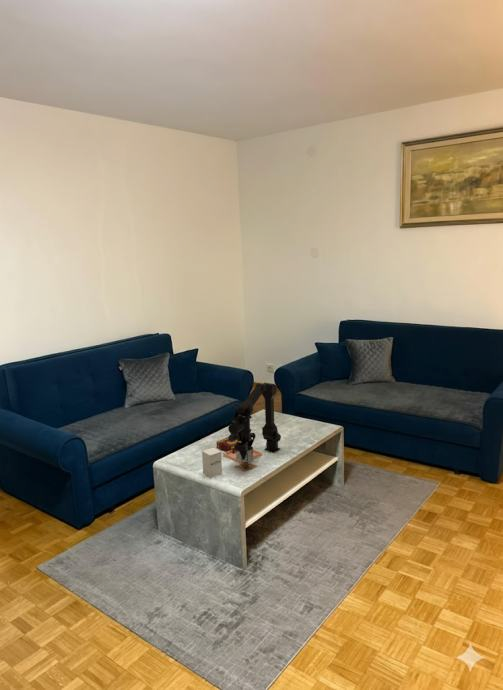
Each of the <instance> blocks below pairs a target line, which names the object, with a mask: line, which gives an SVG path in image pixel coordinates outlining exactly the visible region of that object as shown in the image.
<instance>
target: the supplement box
mask: <svg viewBox="0 0 503 690" xmlns="http://www.w3.org/2000/svg"><path fill="white" fill-rule="evenodd" d="M201 457H202V459H201V460H202V473H203V475H204V476H206V477H208V479H212V478H213V477H216V476H219V475H222V473H223V467H222V466H223V464H222V450H220V449H218V448H215V447H211V448H207V449H205V450H202V451H201Z"/></svg>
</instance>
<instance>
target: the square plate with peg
mask: <svg viewBox="0 0 503 690" xmlns="http://www.w3.org/2000/svg"><path fill="white" fill-rule="evenodd" d="M234 468H236V469H238V470H240V471H242V472H244V473H247V472H249V471H251V470H254V469H256V468H258V465H257V464H253V463H251V462H244V463H243V464H240V463H238V465H235V466H234Z"/></svg>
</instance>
